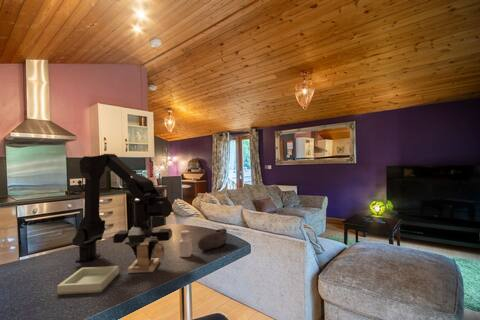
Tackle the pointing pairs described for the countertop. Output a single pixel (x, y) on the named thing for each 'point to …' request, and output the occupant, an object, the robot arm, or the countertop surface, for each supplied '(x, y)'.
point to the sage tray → (88, 280)
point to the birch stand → (135, 268)
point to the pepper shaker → (185, 244)
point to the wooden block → (143, 255)
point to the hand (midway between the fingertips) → (144, 259)
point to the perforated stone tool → (213, 239)
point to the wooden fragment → (157, 250)
